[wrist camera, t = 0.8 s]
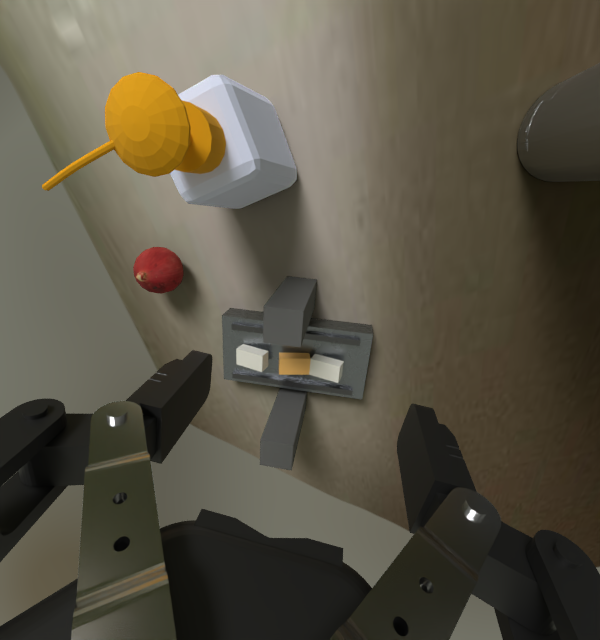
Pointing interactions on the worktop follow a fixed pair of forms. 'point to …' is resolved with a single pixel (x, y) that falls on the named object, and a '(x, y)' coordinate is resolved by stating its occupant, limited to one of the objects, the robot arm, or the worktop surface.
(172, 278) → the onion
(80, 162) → the soap bottle
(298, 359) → the orange block
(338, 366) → the paddle
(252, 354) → the paddle
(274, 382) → the breaker panel
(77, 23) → the worktop surface
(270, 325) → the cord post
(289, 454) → the cord post
